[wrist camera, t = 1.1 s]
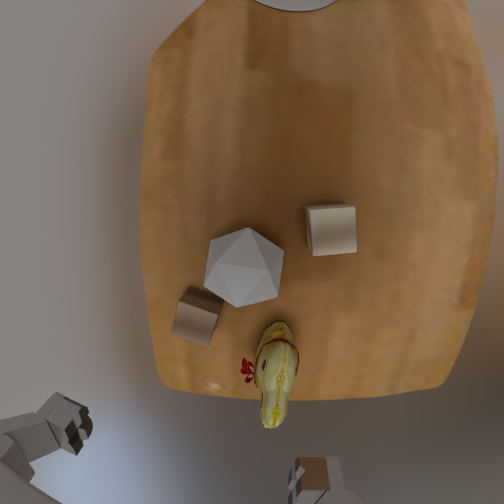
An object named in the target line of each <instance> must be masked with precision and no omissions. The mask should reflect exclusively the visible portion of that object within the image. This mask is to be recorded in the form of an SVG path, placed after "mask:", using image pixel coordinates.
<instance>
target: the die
mask: <svg viewBox="0 0 504 504" xmlns="http://www.w3.org/2000/svg"><path fill="white" fill-rule="evenodd" d="M283 257H284V250H282V249H281V248H279V247H278V246H276V245H275V244H273V243H272V242H270V241H269V240H267V239H266V238H264V237H263V236H261V235H260V234H258V233H257V232H255V231H254V230H252V229H251V228H249V227H248V228H245V229H242V230H239V231H236V232H233V233H230V234H227V235H224V236H222V237H219V238H216V239H213V240H211V241H210V247H209V253H208V259H207V265H206V272H205V278H204V285H203V286H204V287H206V288H207V289H209V290H210V291H212V292H213V293H215V294H216V295H218V296H219V297H221V298H222V299H224V300H225V301H227V302H228V303H230V304H231V305H233V306H235V307H236V308H238V307H242V306H246V305H250V304H254V303H258V302H261V301H265V300H269V299H273V298H276V297H278V292H279V286H280V279H281V272H282V265H283Z"/></svg>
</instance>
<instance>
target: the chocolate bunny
mask: <svg viewBox="0 0 504 504" xmlns="http://www.w3.org/2000/svg"><path fill="white" fill-rule="evenodd" d="M298 365H299V353H298V350H297V349H296V347H295V346H294V345H293V335H292V333H291V330H290V329H289V328H288V326H287V325H286V324H285V323H284V322H276V323H274V324H272V325H270V326H268V328H267V329H266V330H265V331H264V333H263V336H262V338H261V341H260V343H259V345H258V348H257V351H256V355H255V359H254V366H255V370H254V373H253V372H252V371H251V370H250V368H249V367H250V366H252V367H253V368H254V366H253V364H252V363H251V362H249V361H248V363H247V361H246V359H245V358H243V360H242V368H243V369H242V368H241V373H242V374H249V375H250V374H253V377H254V382H255V380H256V382H255V384H256V387H258V388H259V390H260V392H261V405H260V412H259V414H260V417H261V420H262V422H263V423H264V427H266V428H273V427H277V426H278V425H280V424H281V423H282V422H283V420H284V418H285V416H286V414H287V405H288V398H289V395H290V392H291V389H292V386H293V383H294V380H295V377H296V374H297V370H298ZM254 374H255V375H254ZM249 375H247V377H246V378H245V382H246V383H249V382H250V381H251V380H252V379H253V377H252V378H248V376H249Z"/></svg>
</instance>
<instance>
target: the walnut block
mask: <svg viewBox="0 0 504 504" xmlns="http://www.w3.org/2000/svg"><path fill="white" fill-rule="evenodd" d="M223 302H224V299H222V298H221V297H218V296H215V295H213V294H210V293H207V292H204V291H201V290H199V289H196V288H193V287H189V288H188V289H187V291H186V292H185V293H184V295H183V296H182V297H181V299H180V300H179V302H178V306H177V310H176V314H175V318H174V323H173V327H172V331H171V334H173V335H175V336H178V337H181V338H183V339H186V340H188V341H191V342H194V343H197V344H199V345H202V346H205V347H208V345H209V343H210V340H211V337H212V335H213V332H214V329H215V327H216V323H217V320H218V317H219V314H220V311H221V308H222V305H223Z"/></svg>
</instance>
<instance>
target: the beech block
mask: <svg viewBox="0 0 504 504" xmlns="http://www.w3.org/2000/svg"><path fill="white" fill-rule="evenodd" d="M304 207H305V219H306V232H307V246H308V248H309V250H310V252H311V254H312V255H313V256H322V255H332V254H343V253H353V252H357V238H356V214H355V207H354V206H351V205H348V204H345V203H337V204H323V205H311V206H304Z"/></svg>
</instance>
